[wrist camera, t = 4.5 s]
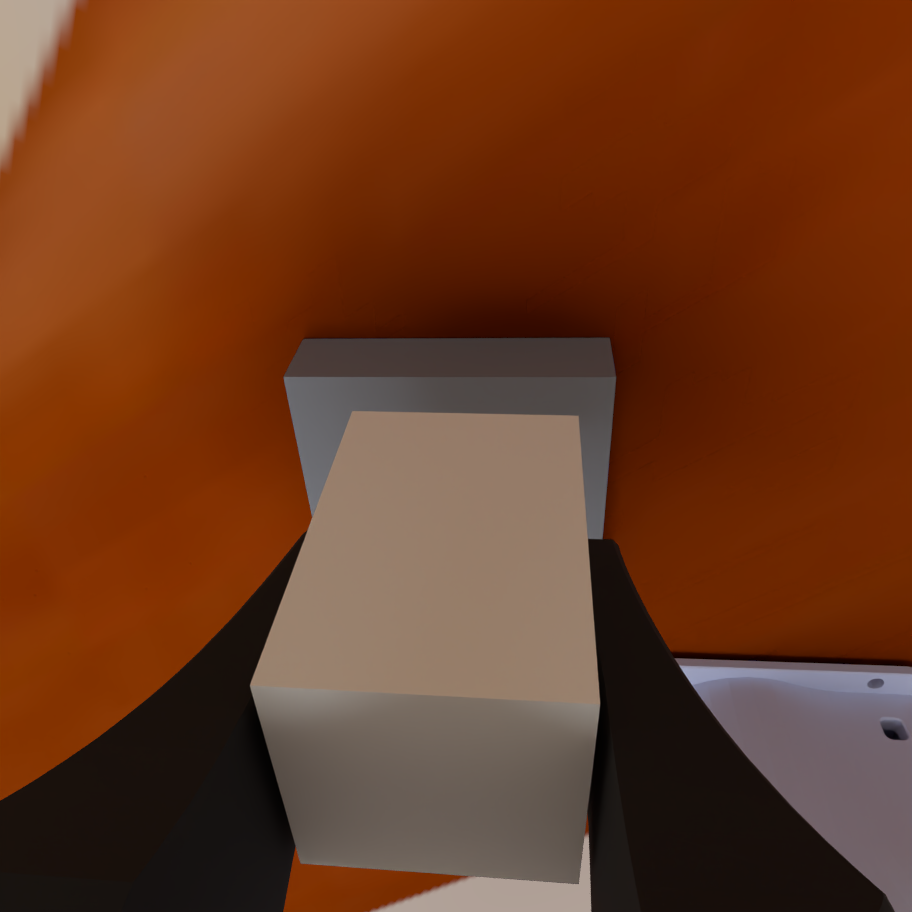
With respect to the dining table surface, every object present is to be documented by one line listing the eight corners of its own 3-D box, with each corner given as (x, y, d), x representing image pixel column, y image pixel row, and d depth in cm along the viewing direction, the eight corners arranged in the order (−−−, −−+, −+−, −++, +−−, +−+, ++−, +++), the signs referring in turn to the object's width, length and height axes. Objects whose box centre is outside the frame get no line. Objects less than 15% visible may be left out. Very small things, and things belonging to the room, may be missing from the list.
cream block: (579, 415, 13) (600, 705, 9) (566, 582, 16) (578, 883, 11) (351, 411, 14) (249, 686, 9) (373, 574, 16) (301, 863, 11)
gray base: (609, 337, 20) (616, 379, 18) (592, 565, 24) (596, 615, 23) (303, 338, 20) (282, 379, 19) (343, 559, 25) (329, 607, 23)
